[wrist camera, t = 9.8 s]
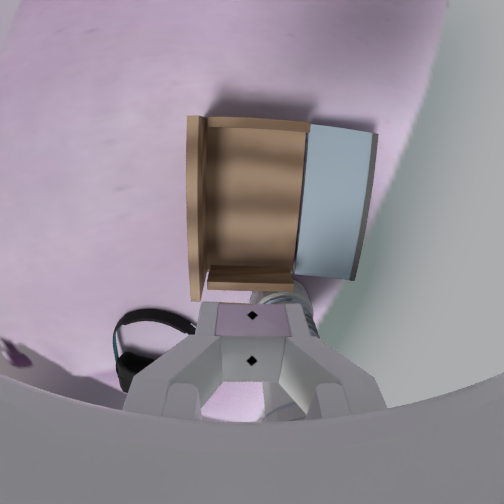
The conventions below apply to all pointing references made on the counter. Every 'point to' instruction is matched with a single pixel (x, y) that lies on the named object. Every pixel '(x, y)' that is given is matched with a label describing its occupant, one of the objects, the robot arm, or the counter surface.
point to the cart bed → (243, 202)
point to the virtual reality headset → (133, 363)
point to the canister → (275, 396)
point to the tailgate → (335, 201)
